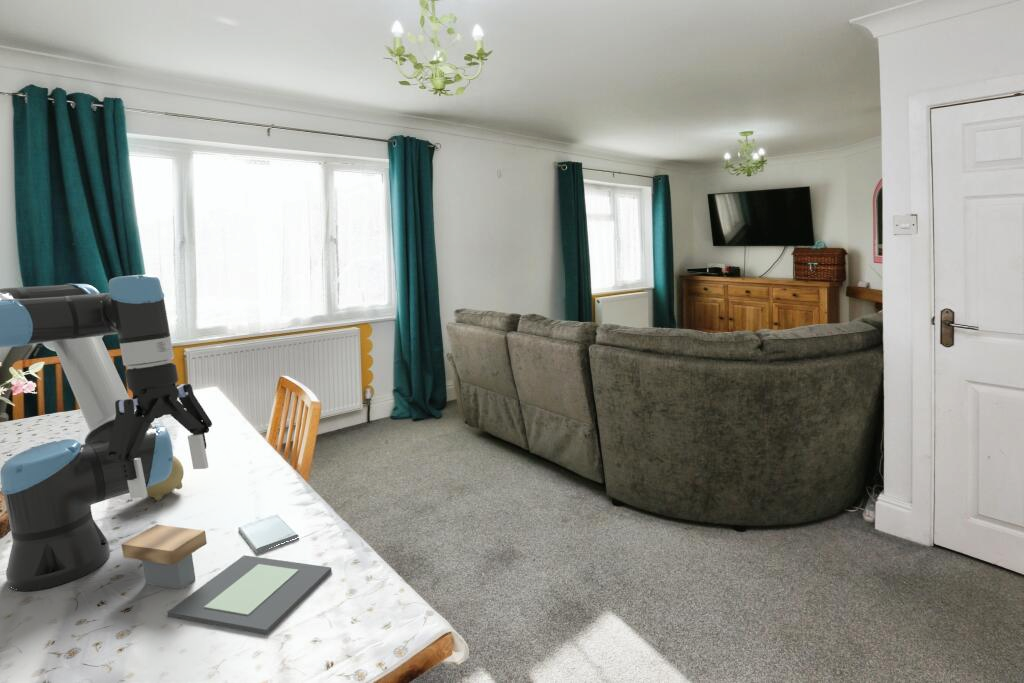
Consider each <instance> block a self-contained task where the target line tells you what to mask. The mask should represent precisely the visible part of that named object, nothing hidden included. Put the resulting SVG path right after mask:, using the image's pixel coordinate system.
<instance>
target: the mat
mask: <svg viewBox="0 0 1024 683" xmlns="http://www.w3.org/2000/svg"><path fill="white" fill-rule="evenodd" d="M331 571H332V567H330V566H323V565H317V564H308V563H302V562H296V561H295V562H294V561H288V560H287V561H286V560H282V559H281V560H279V559H272V558H267V557H266V558H265V557H260V556H259V557H258V556H250V555H245V554H244V555H242V556H240V557H239V558H238V559H237V560H236V561H234V562H233V563H232V564H230V565H229V566H227V567H226V568H224V569H223V570H222V571H221V572H220V573H218V574H217V575H215V576H213V578H212V579H210V580H209V581H207V582H206V583H204V584H203V585H202V586H200V587H199V588H197V589H195V591H194V592H192V593H191V594H190V595H188V596H187V597H185V598H184V599H182V600H181V601H180V602H179V603H177V604H175V605H174V606H173V607H171V609H169V610H168V611H167V617H168V618H174V619H175V618H176V619H180V620H186V621H189V622H197V623H201V624H207V625H214V626H219V627H223V628H230V629H233V630H234V629H235V630H238V631H239V630H240V631H245V632H250V633H251V632H252V633H257V634H262V635H268V634H269V633H270V632H271V631H272V630H273V629H275V627H276V626H277V625H279V623H281V621H282V620H284V619H285V617H287V616H288V615H289V613H291V612H292V610H294V609H295V608H296V607H297V606H298V605H299V604H300V603H301V602H302V601H303V600H304V599H305V598H306V597H307V596H308V595H309V594H310V593H311V592H312V591H314V589H315V588H317V587H318V585H319V584H320V583H321V582H323V581H324V579H325V578H327V577H328V576H329V575H330V572H331Z"/></svg>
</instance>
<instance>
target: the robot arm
mask: <svg viewBox="0 0 1024 683" xmlns="http://www.w3.org/2000/svg"><path fill="white" fill-rule="evenodd" d="M166 309H167V308H166V303H165V293H164V292H163V287H162V284H161V281H160V279H159V277H158V276H156V275H153V274H136V275H135V274H134V275H125V276H123V275H122V276H116V277H113V278H111V279H109V280H108V292H104V293H103V292H102V293H101V292H100V291H99V290H98V289H97V288H96V287H94V286H93V285H90V284H87V283H72V282H71V283H65V284H58V285H57V284H56V285H43V286H42V285H41V286H39V285H37V286H21V287H19V286H18V287H6V288H0V348H9V347H13V348H15V347H19V348H20V347H23V346H29V345H35V344H36V345H37V344H42V345H43V346H44V347H45V348H47V349H48V350H50V351H53V352H56V355H57V358H58V360H59V362H60V365H61V367H62V369H63V372H64V374H65V376H66V379H67V381H68V383H69V386H70V388H71V391H72V393H73V396H74V398H75V399H76V402H77V405H78V406H79V409H80V411H81V414H82V416H83V418H84V421H85V423H86V426H87V428H88V430H89V431H88V433H87V434H86V435H85V438H84V444H81V443H80V442H79V441H78V440H77V439H73V438H72V439H71V438H70V439H67V438H66V439H60V440H58V441H56V440H53V441H50V442H47V443H42V444H40V445H37V446H33V447H30V448H28V449H25V450H24V451H21V452H19V453H18V454H17V453H16V454H15V455H13V456H12V457H10V458H9V459H8V460H7V461H5V462H4V464H3V465H2V466H1V468H0V482H1V483H0V484H1V488H0V491H1V493H2V494H3V497H4V502H5V505H6V506H5V507H6V512H7V518H8V521H9V522H8V523H9V528H10V532H11V538H12V544H11V548H10V554H9V558H8V563H7V568H6V571H5V574H6V581H7V586H8V585H9V586H10V587H12V588H14V589H17V590H16V591H19V590H32V591H37V590H38V591H39V590H44V588H45V589H49V588H53V587H57V586H60V585H63V584H66V583H69V582H71V581H74V580H77V579H79V578H81V577H83V576H85V575H87V574H89V573H91V572H93V571H95V570H96V569H98V568H99V567H100V566H102V565H103V564H104V563H105V562H106V561H107V560H108V559H109V557H110V555H111V551H110V550H111V548H110V544H109V540H108V539H107V537H106V536H105V535H104V533H103V532H102V531H101V529H100V527H99V526H98V524H97V522H96V521H95V520H94V518H93V514H92V513H93V512H92V505H94V504H97V503H100V502H104V501H108V500H111V499H114V498H117V497H120V496H123V495H124V496H125V495H127V494H129V496H130V499H139V498H143V499H144V498H146V497H147V496H148V494H147V489H146V488H148V487H149V486H151V485H154V484H157V483H160V482H162V481H164V480H166V479H167V478H168V477H169V476H170V474H171V471H172V466H173V456H174V452H173V443H172V440H171V436H170V433H169V430H168V429H167V427H166V426H163V425H155V426H154V427H153V424H152V423H154V421H155V420H156V419H159V418H163V416H171V417H172V418H174V419H175V420H176V421H177V422H178V423H179V424H180V425H181V426H182V427H184V429H186V430H187V431H188V433H190V434H189V435H187V441H188V446H189V452H190V457H191V461H192V462H191V463H192V469H193V470H206V469H208V468H209V463H208V457H207V453H206V449H207V442H206V436H205V434H208V433H209V432H210V428H211V427H212V426H213V422H212V420H211V419H210V417H209V416H208V415H207V413H206V411H205V410H204V408H203V406H202V405H201V403H200V402H199V400H198V398H197V397H196V396H195V394H194V390H193V386H192V385H191V383H183V384H177V383H178V382H179V375H178V369H177V365H176V363H175V362H171V361H172V360H173V359H174V358H175V354H174V349H173V343H172V339H171V333H170V332H171V331H170V326H169V321H168V314H167V310H166ZM108 335H109V336H110V335H117V336H118V342H119V348H120V353H121V359H122V360H121V361H122V365H123V366H124V367H127V369H125V371H124V374H125V379H126V384H127V388H128V390H130V391H131V393H132V397H131V398H130V396H129V393H128V392H127V390H126V388H125V385H124V383H123V381H122V379H121V376H120V374H119V373H118V370H117V368H116V366H115V364H114V361H113V360H112V357H111V356H110V353H109V351H108V349H107V347H106V345H105V343H104V341H103V337H104V336H108ZM9 586H8V587H9ZM10 587H9V588H10ZM12 588H11V589H12ZM14 589H13V590H14Z"/></svg>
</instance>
